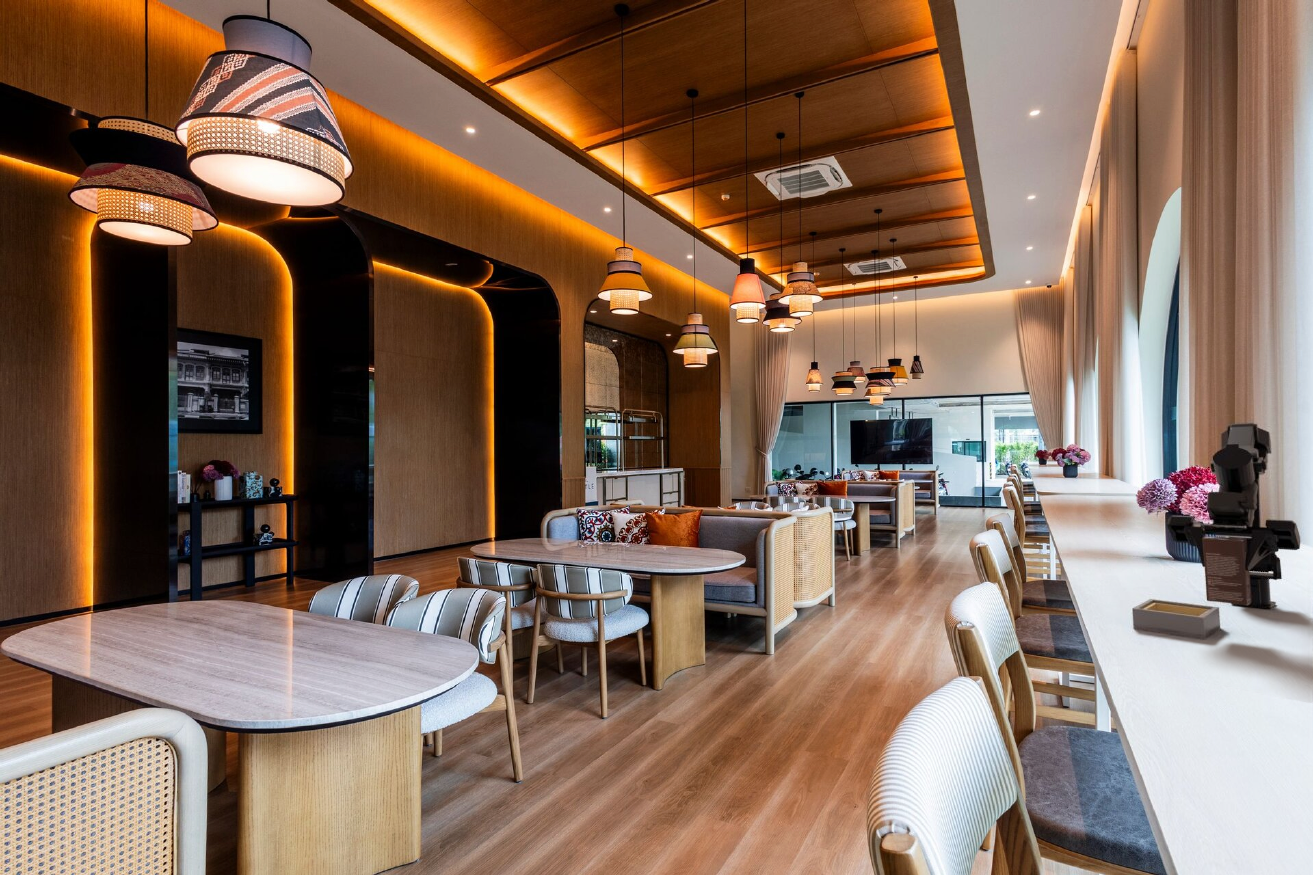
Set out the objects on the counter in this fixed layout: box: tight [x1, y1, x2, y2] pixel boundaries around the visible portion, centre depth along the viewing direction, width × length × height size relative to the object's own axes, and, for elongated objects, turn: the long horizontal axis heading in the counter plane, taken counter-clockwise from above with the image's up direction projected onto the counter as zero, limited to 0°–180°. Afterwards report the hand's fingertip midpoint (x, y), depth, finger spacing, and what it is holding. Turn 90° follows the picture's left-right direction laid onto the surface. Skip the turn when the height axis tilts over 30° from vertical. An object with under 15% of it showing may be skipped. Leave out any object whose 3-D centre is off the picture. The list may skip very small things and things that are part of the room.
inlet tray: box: [1132, 598, 1221, 640], centre depth 131 cm, size 11×11×4 cm
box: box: [1202, 535, 1251, 606], centre depth 124 cm, size 6×4×12 cm
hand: (1224, 567), depth 123 cm, fingers closed on box, 6 cm apart
